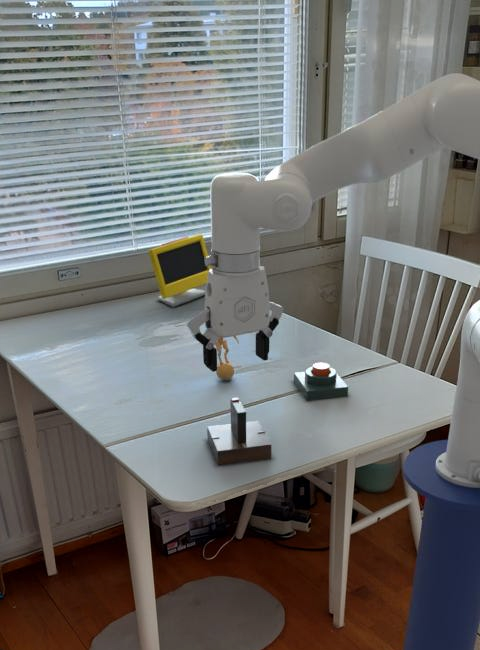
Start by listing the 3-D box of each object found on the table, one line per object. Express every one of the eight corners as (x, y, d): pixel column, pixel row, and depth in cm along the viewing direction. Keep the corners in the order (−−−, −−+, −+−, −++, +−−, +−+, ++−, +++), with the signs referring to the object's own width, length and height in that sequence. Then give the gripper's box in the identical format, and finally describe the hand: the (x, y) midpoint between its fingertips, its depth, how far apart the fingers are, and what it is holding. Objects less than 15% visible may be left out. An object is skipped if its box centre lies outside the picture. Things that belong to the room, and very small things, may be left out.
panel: (271, 459, 144) (272, 443, 142) (217, 465, 142) (217, 450, 140) (258, 434, 152) (258, 419, 150) (206, 440, 150) (206, 425, 148)
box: (347, 396, 165) (348, 378, 163) (306, 401, 164) (307, 383, 162) (332, 377, 173) (333, 360, 171) (293, 382, 172) (294, 364, 170)
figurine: (212, 386, 170) (210, 333, 163) (200, 376, 175) (198, 324, 168) (246, 379, 173) (245, 326, 167) (233, 369, 178) (232, 318, 171)
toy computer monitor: (166, 310, 211) (162, 250, 202) (146, 304, 215) (141, 245, 206) (215, 292, 224) (213, 234, 215) (195, 286, 228) (192, 230, 219)
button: (331, 375, 165) (332, 368, 164) (315, 377, 165) (315, 369, 164) (326, 369, 168) (326, 361, 167) (310, 371, 168) (310, 363, 167)
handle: (246, 441, 143) (246, 410, 139) (237, 442, 143) (237, 411, 139) (239, 427, 148) (238, 396, 144) (230, 428, 147) (230, 397, 144)
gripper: (196, 274, 117) (200, 381, 126) (295, 258, 123) (292, 361, 133) (175, 262, 122) (181, 365, 132) (271, 247, 129) (270, 346, 138)
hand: (236, 363), depth 132 cm, fingers open, 9 cm apart
